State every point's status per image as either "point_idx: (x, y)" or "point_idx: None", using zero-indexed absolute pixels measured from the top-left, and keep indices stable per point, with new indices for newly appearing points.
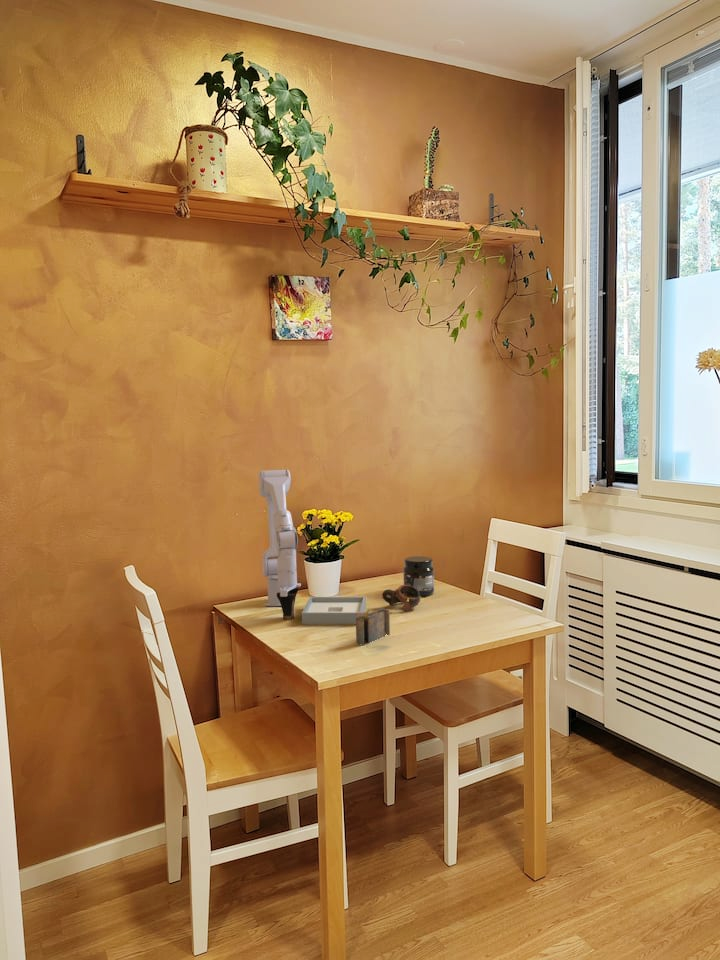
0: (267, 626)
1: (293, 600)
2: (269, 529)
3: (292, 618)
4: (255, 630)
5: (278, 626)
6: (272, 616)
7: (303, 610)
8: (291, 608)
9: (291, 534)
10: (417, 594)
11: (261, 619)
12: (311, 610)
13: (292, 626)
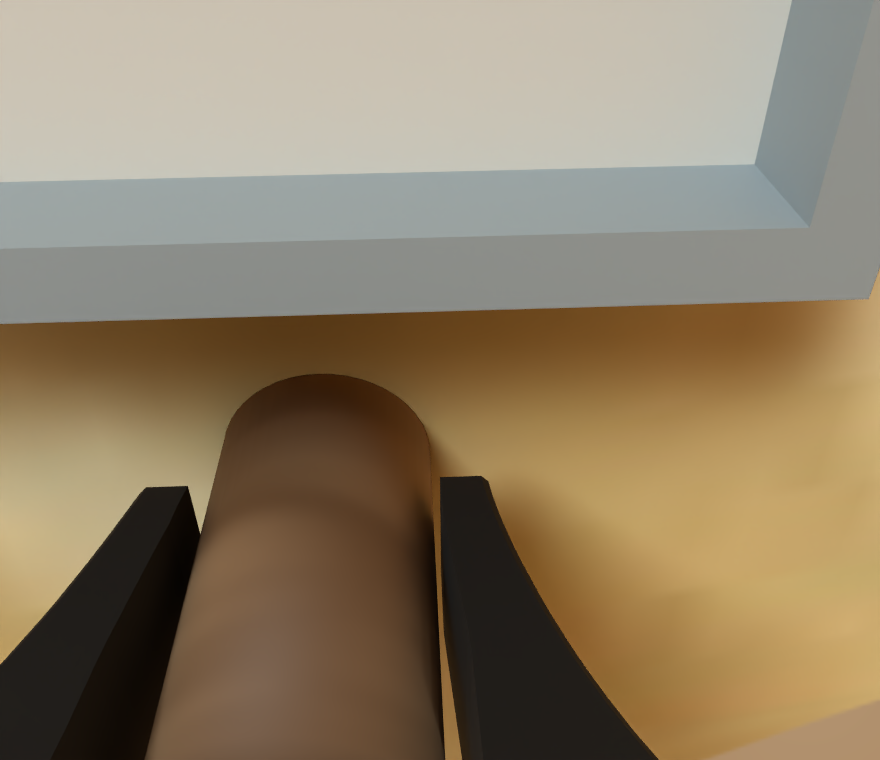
0: (722, 627)
1: (287, 718)
2: None
3: (386, 405)
4: (863, 697)
5: (757, 514)
6: None
7: (592, 294)
8: (527, 585)
9: None
10: None
11: None
12: (61, 80)
13: (818, 320)
